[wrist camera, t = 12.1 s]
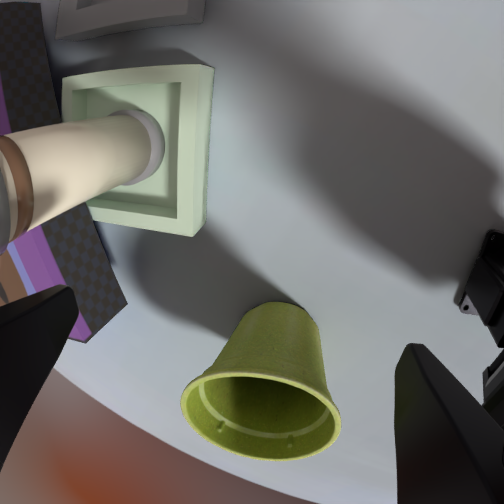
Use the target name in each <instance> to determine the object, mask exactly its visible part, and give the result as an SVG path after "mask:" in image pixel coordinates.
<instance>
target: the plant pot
mask: <svg viewBox="0 0 504 504" xmlns="http://www.w3.org/2000/svg"><path fill="white" fill-rule="evenodd" d="M180 405H181V410H182V413H183V416H184V417H185V419H186V420H187V422H188V423H189V425H190V426H191V427H192V428H193V429H194V430H195V431H196V432H197V433H198V434H199V435H200V436H202V437H203V438H204V439H205V440H207V441H208V442H210V443H212V444H214V445H216V446H218V447H220V448H222V449H224V450H226V451H228V452H231V453H233V454H236V455H240V456H243V457H249V458H252V459H258V460H269V461H289V460H298V459H302V458H306V457H310V456H313V455H316V454H318V453H320V452H322V451H324V450H325V449H327V448H328V447H329V446H331V445H332V444H333V443H334V441H335V440H336V439H337V437H338V436H339V433H340V430H341V417H340V413H339V410H338V408H337V407H336V405H335V404H334V402H333V401H332V398H331V395H330V393H329V391H328V389H327V384H326V377H325V371H324V364H323V357H322V349H321V341H320V335H319V329H318V327H317V325H316V324H315V322H314V321H313V320H312V318H311V317H310V316H309V315H308V313H307V312H306V311H304V310H303V309H301V308H299V307H297V306H295V305H292V304H289V303H284V302H267V303H263V304H262V305H260V306H258V307H256V308H254V309H252V310H250V311H248V312H247V313H246V314H245V315H244V316H243V318H242V319H241V321H240V323H239V324H238V326H237V327H236V329H235V331H234V332H233V334H232V335H231V337H230V339H229V340H228V342H227V343H226V345H225V346H224V348H223V350H222V351H221V353H220V354H219V356H218V357H217V359H216V360H215V362H214V363H213V365H212V366H210V367H209V368H208V369H207V370H206V371H204V373H203V374H202V375H200V376H198V377H197V378H195V379H193V380H192V381H191V382H190V383H189V384H188V385H187V386H186V388H185V389H184V391H183V393H182V396H181V401H180Z"/></svg>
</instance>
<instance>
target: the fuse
mask: <svg viewBox="0 0 504 504" xmlns="http://www.w3.org/2000/svg"><path fill="white" fill-rule="evenodd" d="M164 154H165V138H164V134H163V131H162V128H161V126H160V124H159V123H158V121H157V120H156V119H155V118H154V117H153V116H152V115H150V114H149V113H147V112H145V111H143V110H138V109H129V110H119V111H116V112H113V113H111V114H110V115H108V116H107V117H99V118H92V119H84V120H78V121H71V122H65V123H59V124H54V125H48V126H43V127H38V128H33V129H29V130H24V131H20V132H15V133H11V134H7V135H0V256H1V255H2V254H3V253H4V252H5V251H6V248H7V246H8V244H9V243H10V242H12V241H14V240H16V239H17V238H19V237H21V236H22V235H24V234H25V233H26V232H27V231H29V230H31V229H33V228H34V227H36V226H38V225H40V224H42V223H44V222H46V221H47V220H49V219H51V218H53V217H55V216H57V215H59V214H61V213H63V212H65V211H67V210H69V209H71V208H73V207H75V206H77V205H79V204H81V203H83V202H85V201H87V200H89V199H91V198H93V197H96V196H98V195H100V194H102V193H104V192H106V191H109V190H111V189H113V188H115V187H117V186H120V185H123V186H129V185H133V184H136V183H138V182H140V181H143V180H145V179H147V178H149V177H150V176H152V175H153V174H154V173H155V172H156V171H157V170H158V168H159V167H160V165H161V163H162V161H163V158H164Z"/></svg>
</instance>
